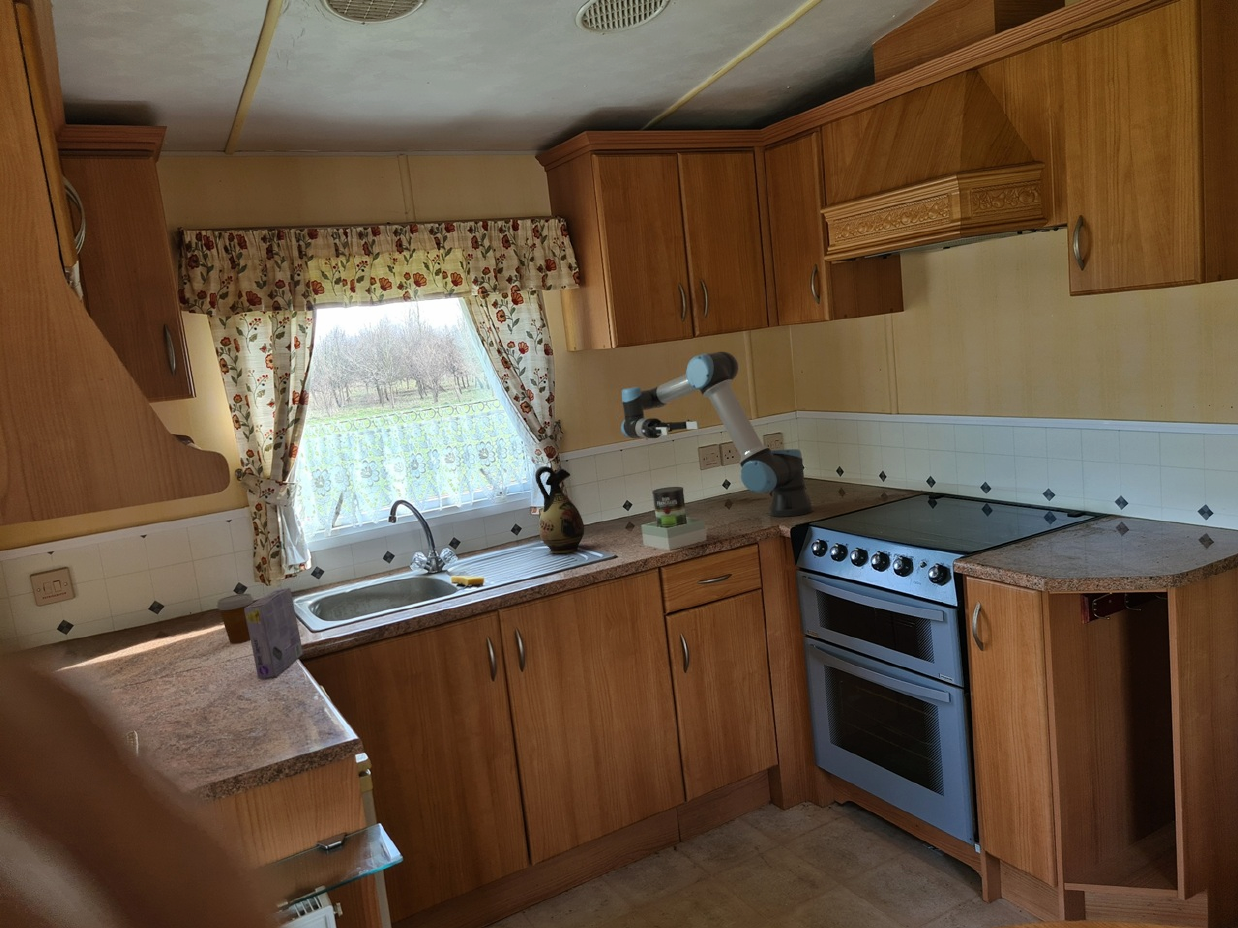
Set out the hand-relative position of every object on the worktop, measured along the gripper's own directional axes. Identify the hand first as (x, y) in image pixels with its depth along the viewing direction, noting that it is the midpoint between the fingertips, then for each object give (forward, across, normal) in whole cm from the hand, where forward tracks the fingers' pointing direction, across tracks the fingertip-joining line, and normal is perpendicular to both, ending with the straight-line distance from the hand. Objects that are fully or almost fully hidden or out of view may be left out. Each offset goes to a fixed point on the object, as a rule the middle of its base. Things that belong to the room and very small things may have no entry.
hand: (682, 428), depth 340 cm
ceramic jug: (-9, +50, -35) cm, 62 cm away
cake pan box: (+38, +155, -35) cm, 163 cm away
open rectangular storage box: (+20, +23, -35) cm, 46 cm away
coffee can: (+20, +23, -31) cm, 43 cm away
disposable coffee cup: (0, +157, -35) cm, 161 cm away
